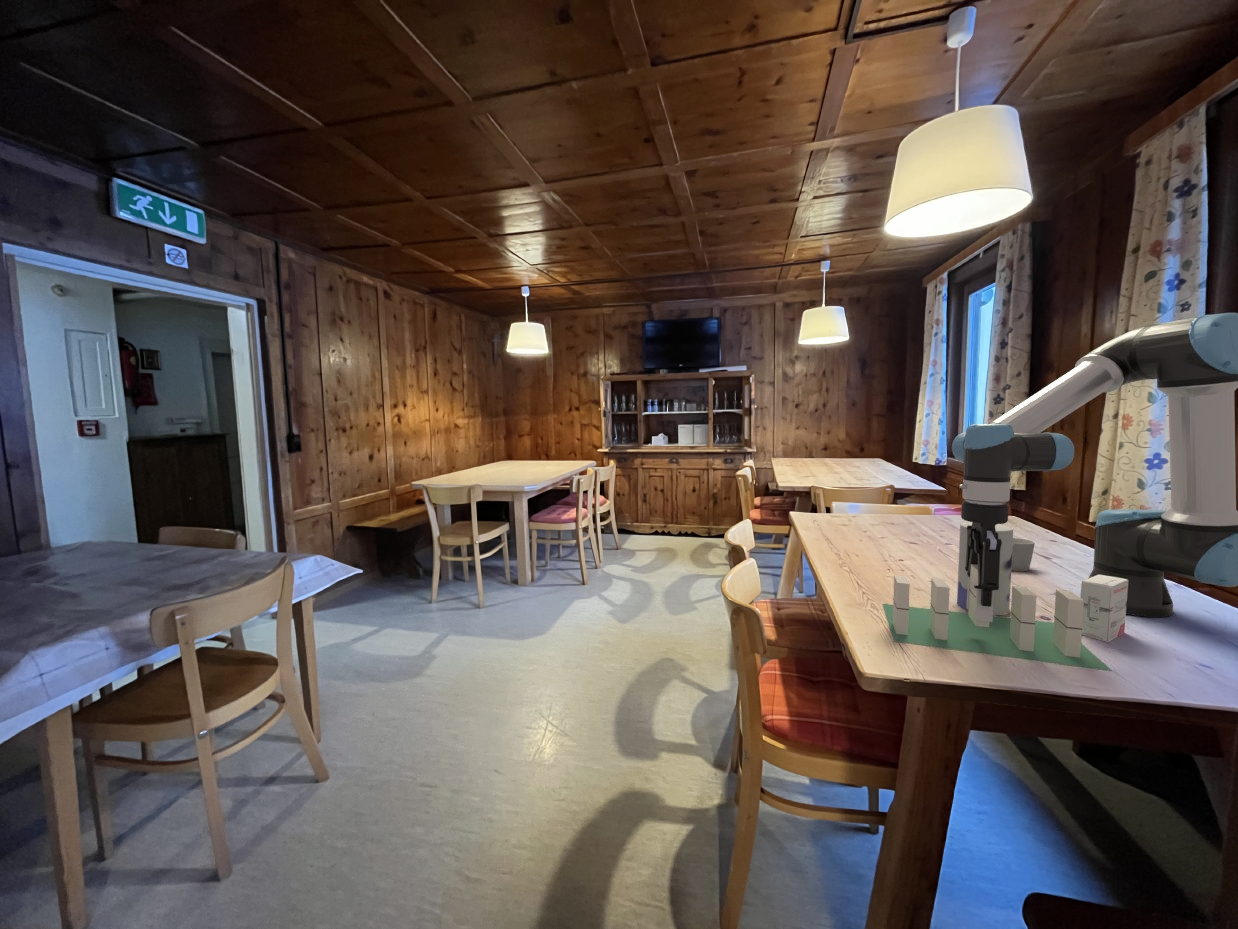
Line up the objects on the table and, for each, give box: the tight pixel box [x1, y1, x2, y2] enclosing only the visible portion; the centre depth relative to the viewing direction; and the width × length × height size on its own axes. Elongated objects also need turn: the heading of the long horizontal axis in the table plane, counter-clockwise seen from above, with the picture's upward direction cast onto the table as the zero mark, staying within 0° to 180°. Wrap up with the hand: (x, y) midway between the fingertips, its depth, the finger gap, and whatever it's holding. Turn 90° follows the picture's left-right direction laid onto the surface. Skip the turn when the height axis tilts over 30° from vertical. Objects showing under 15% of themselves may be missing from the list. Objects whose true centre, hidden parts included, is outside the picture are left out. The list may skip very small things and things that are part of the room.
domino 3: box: [967, 564, 989, 627], centre depth 99 cm, size 2×6×11 cm, turn 157°
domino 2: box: [929, 578, 950, 640], centre depth 102 cm, size 2×6×11 cm, turn 157°
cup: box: [1011, 537, 1036, 572], centre depth 145 cm, size 8×10×8 cm
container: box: [956, 521, 1014, 616], centre depth 116 cm, size 10×10×20 cm
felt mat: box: [882, 603, 1113, 672], centre depth 103 cm, size 34×22×1 cm, turn 67°
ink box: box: [1080, 575, 1128, 643], centre depth 101 cm, size 9×5×12 cm, turn 118°
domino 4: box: [1010, 585, 1037, 651], centre depth 97 cm, size 2×6×11 cm, turn 157°
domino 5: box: [1053, 589, 1084, 658], centre depth 94 cm, size 2×6×11 cm, turn 157°
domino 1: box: [892, 574, 911, 635], centre depth 105 cm, size 2×6×11 cm, turn 157°
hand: (979, 614), depth 100 cm, fingers closed on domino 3, 5 cm apart
